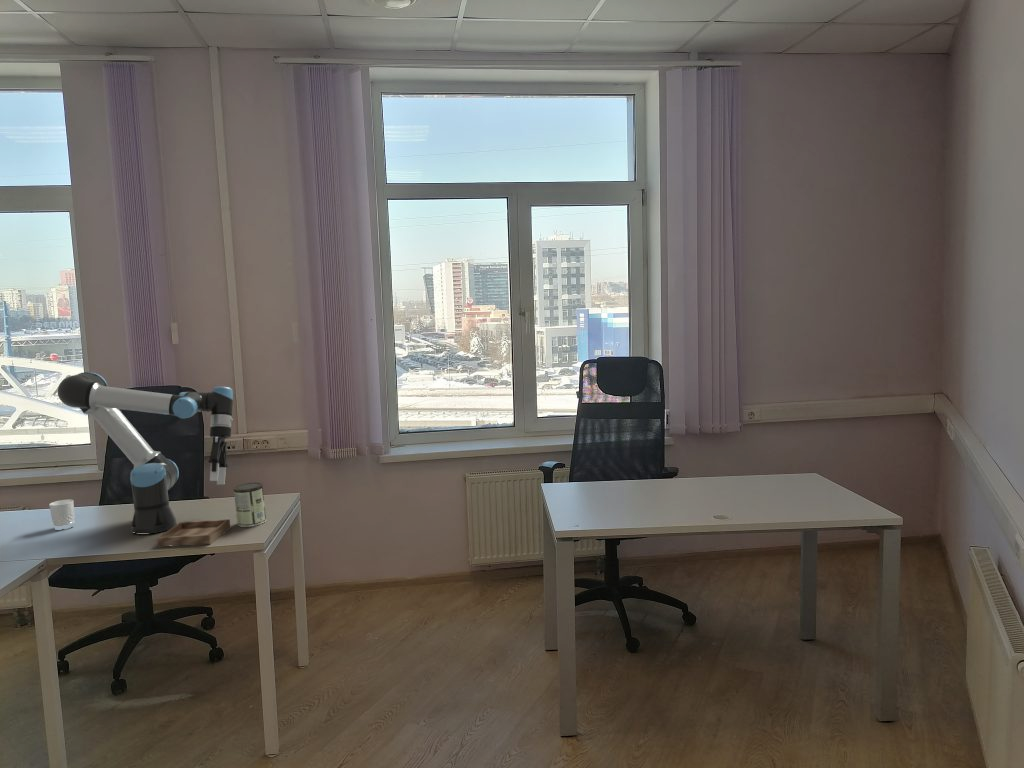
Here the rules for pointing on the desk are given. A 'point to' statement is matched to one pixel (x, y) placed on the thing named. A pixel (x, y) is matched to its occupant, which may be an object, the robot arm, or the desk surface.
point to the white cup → (62, 512)
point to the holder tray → (194, 533)
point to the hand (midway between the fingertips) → (217, 482)
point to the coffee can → (249, 504)
